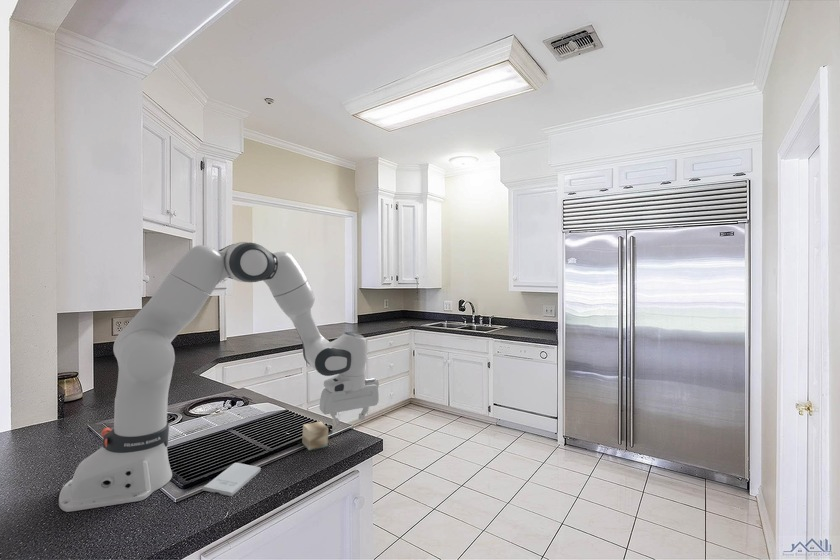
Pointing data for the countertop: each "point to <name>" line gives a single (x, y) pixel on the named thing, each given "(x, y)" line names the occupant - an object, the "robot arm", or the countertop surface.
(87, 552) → the countertop surface
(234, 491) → the external hard drive
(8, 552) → the countertop surface
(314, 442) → the maple cube
